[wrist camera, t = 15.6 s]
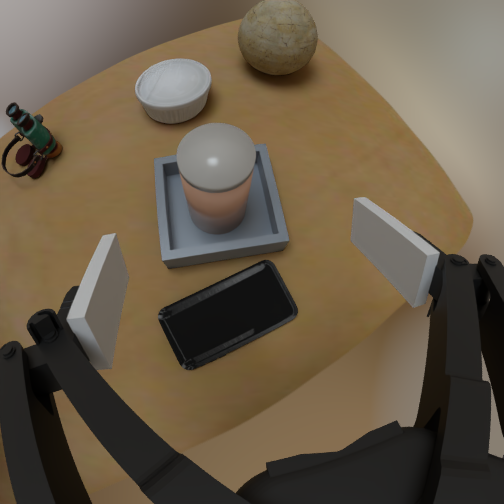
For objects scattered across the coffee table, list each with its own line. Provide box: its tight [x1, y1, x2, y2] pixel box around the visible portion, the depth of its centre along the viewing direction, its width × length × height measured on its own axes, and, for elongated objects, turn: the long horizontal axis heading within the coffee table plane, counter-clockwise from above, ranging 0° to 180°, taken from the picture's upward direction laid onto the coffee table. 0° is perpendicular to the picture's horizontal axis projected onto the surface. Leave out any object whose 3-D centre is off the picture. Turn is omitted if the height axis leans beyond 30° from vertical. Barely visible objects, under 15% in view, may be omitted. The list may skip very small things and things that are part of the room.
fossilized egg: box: [238, 0, 318, 75], centre depth 40 cm, size 13×13×15 cm
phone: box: [158, 260, 298, 370], centre depth 35 cm, size 8×1×15 cm
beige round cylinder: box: [177, 123, 256, 235], centre depth 32 cm, size 7×7×12 cm
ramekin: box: [135, 59, 211, 124], centre depth 40 cm, size 11×11×5 cm
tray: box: [154, 144, 289, 269], centre depth 37 cm, size 14×13×4 cm
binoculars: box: [2, 103, 62, 178], centre depth 33 cm, size 9×11×10 cm
